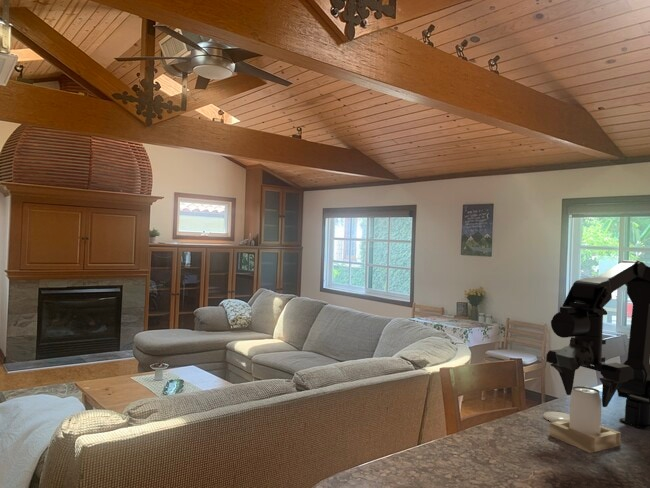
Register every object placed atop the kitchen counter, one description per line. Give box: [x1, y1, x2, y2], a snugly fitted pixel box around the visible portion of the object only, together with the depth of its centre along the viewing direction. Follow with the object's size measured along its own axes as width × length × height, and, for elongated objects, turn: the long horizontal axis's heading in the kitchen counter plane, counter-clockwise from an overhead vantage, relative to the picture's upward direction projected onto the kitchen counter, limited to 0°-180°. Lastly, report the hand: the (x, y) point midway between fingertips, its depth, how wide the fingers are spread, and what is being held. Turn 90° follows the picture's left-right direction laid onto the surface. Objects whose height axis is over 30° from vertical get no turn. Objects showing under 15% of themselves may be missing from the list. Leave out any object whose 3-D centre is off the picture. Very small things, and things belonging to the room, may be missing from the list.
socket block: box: [549, 419, 622, 454], centre depth 116 cm, size 10×10×3 cm
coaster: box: [543, 411, 570, 423], centre depth 130 cm, size 8×8×1 cm
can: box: [569, 385, 602, 436], centre depth 116 cm, size 6×6×12 cm
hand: (586, 400), depth 116 cm, fingers open, 9 cm apart
